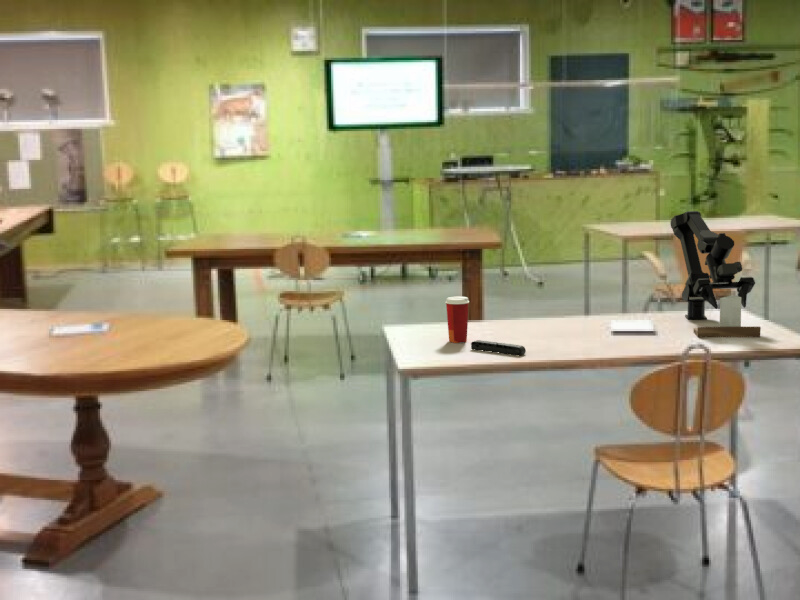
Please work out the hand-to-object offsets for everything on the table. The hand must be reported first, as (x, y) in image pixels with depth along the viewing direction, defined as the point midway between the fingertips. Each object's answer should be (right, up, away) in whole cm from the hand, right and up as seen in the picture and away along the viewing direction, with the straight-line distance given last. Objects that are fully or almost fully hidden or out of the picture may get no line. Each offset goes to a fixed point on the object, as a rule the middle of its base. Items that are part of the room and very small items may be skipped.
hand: (730, 307), depth 318 cm
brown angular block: (-1, -9, +1) cm, 9 cm away
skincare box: (0, -9, +1) cm, 9 cm away
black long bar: (-76, -14, -15) cm, 78 cm away
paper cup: (-87, -11, +1) cm, 87 cm away
